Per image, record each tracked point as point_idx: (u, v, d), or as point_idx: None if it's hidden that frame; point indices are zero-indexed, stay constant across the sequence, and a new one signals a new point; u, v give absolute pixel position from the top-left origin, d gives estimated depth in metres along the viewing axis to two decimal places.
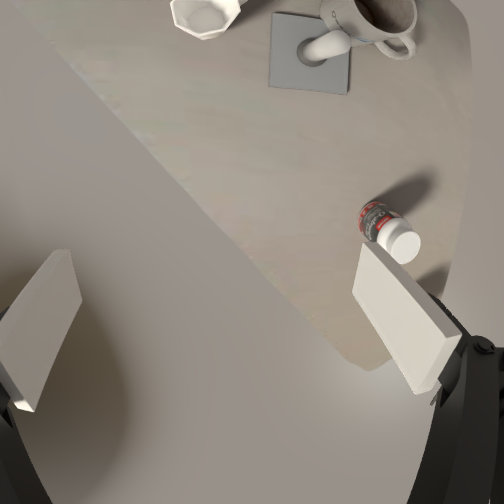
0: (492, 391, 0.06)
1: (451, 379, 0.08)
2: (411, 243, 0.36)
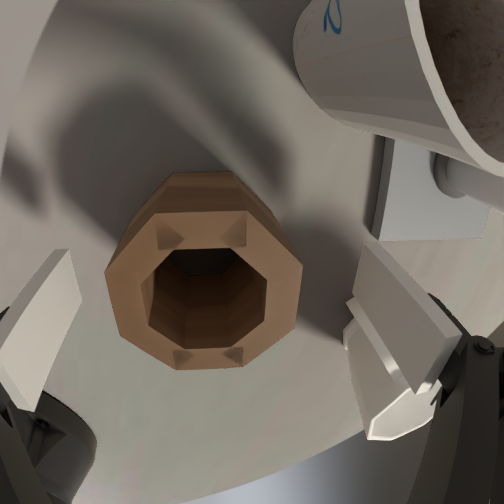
0: (492, 391, 0.06)
1: (451, 379, 0.08)
2: None
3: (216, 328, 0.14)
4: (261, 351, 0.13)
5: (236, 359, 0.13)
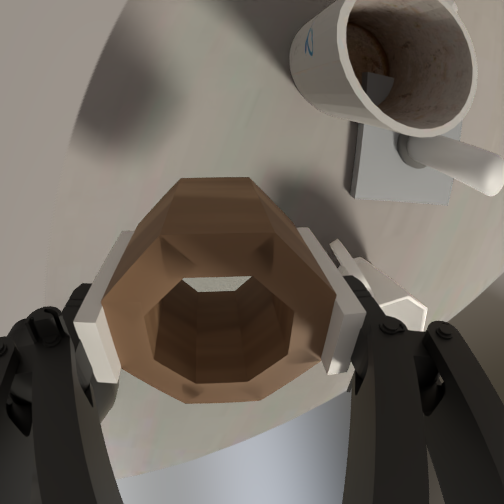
0: (408, 373, 0.07)
1: (362, 364, 0.09)
2: None
3: (231, 358, 0.12)
4: (282, 385, 0.11)
5: (253, 393, 0.11)
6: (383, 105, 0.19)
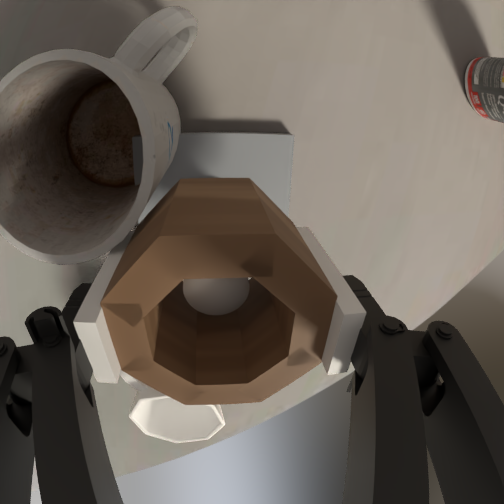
0: (408, 373, 0.07)
1: (362, 364, 0.09)
2: None
3: (231, 359, 0.12)
4: (282, 386, 0.11)
5: (254, 394, 0.11)
6: None
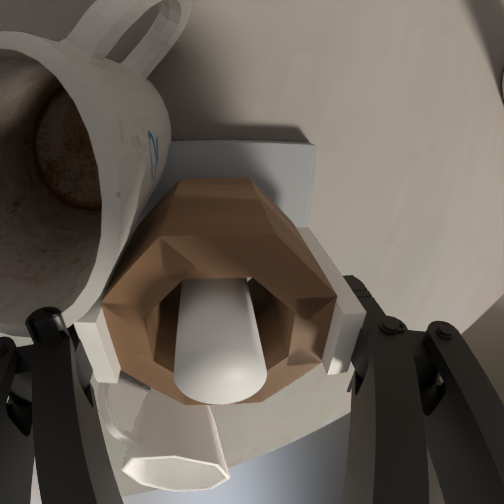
0: (408, 373, 0.07)
1: (362, 364, 0.09)
2: None
3: None
4: (282, 386, 0.11)
5: (254, 395, 0.11)
6: None
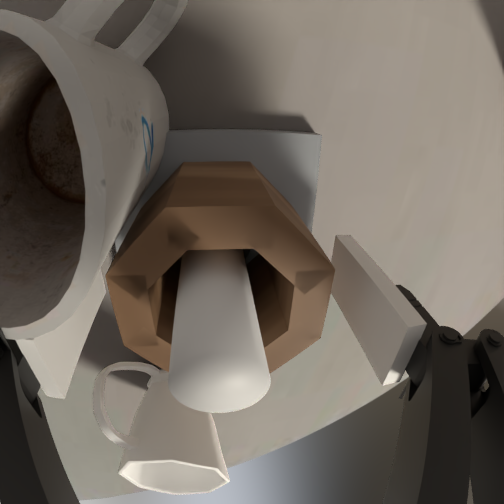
0: (462, 382, 0.06)
1: (418, 371, 0.08)
2: None
3: None
4: (282, 362, 0.12)
5: None
6: None
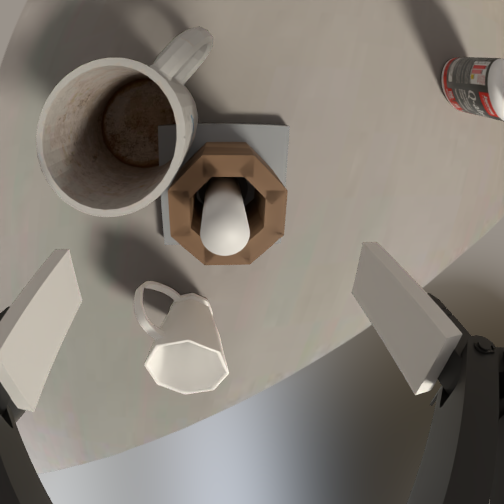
0: (492, 391, 0.06)
1: (451, 379, 0.08)
2: None
3: None
4: (262, 251, 0.21)
5: (245, 257, 0.21)
6: (172, 159, 0.22)
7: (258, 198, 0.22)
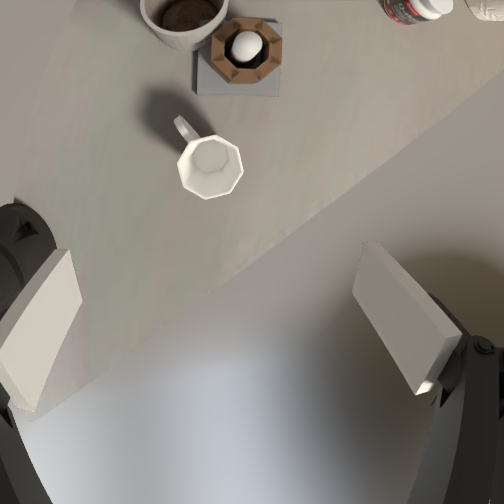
0: (492, 391, 0.06)
1: (451, 379, 0.08)
2: None
3: None
4: (268, 73, 0.28)
5: (257, 76, 0.28)
6: None
7: (264, 55, 0.30)
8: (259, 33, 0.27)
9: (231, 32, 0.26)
